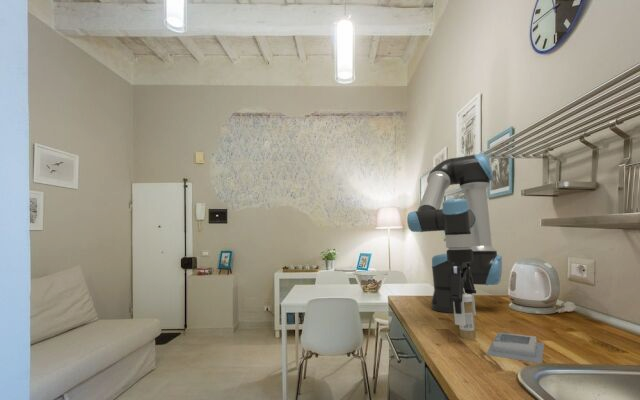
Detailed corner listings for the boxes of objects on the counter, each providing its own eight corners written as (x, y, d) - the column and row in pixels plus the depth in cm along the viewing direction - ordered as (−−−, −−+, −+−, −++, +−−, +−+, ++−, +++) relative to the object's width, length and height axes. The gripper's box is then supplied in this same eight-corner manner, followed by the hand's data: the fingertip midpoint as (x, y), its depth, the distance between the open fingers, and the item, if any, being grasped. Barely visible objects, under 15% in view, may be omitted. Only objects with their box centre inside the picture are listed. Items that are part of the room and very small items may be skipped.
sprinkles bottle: (477, 338, 99) (472, 293, 100) (475, 343, 95) (470, 296, 96) (461, 337, 101) (457, 292, 102) (458, 341, 97) (454, 295, 99)
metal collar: (499, 341, 93) (498, 332, 93) (537, 346, 87) (535, 336, 88) (494, 351, 85) (493, 341, 86) (535, 357, 80) (533, 346, 80)
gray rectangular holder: (495, 340, 96) (495, 337, 96) (544, 346, 89) (544, 343, 89) (486, 358, 83) (485, 354, 83) (542, 367, 76) (541, 363, 76)
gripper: (456, 247, 113) (462, 310, 111) (434, 251, 93) (441, 328, 90) (480, 246, 109) (487, 312, 106) (462, 250, 89) (470, 331, 86)
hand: (466, 319), depth 98 cm, fingers open, 13 cm apart
